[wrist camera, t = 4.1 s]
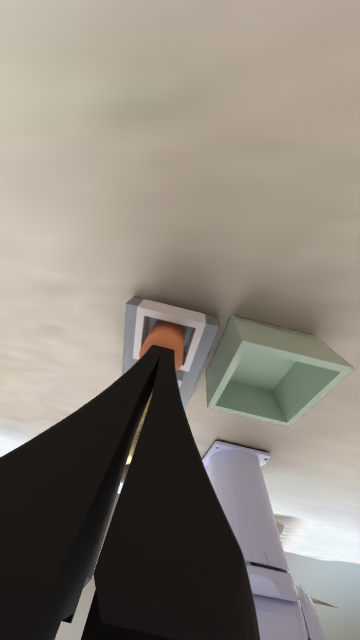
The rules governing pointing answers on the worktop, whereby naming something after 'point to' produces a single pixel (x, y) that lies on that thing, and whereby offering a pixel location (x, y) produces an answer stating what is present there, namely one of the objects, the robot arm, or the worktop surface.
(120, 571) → the robot arm
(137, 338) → the grey slab
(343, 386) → the worktop surface
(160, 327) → the orange rounded piece
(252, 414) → the green open box
